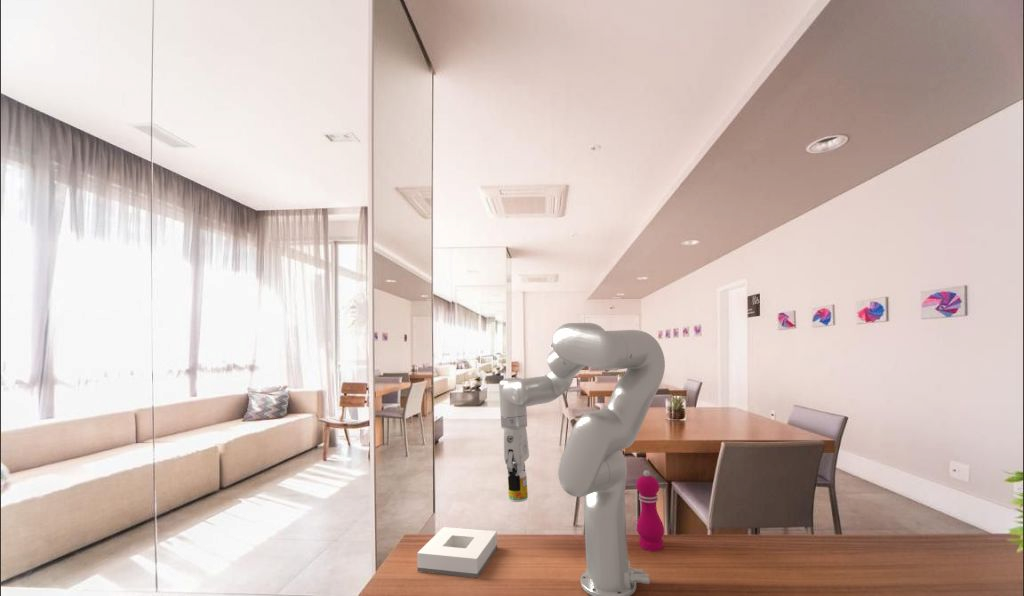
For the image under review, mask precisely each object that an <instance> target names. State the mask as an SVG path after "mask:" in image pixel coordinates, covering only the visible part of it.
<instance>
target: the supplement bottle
mask: <svg viewBox="0 0 1024 596" xmlns="http://www.w3.org/2000/svg"><path fill="white" fill-rule="evenodd" d="M513 464H516V462H513ZM513 468H515V470H516V467H513ZM523 469H524V465H523V464H522V465H519V474H518V475H520V491H510V490H509V481H508V480H507V487H508V489H507V490H508V491H507V492H508V500H509V501H510V502H512V503H522V502H525V501H527V500H528V496H529V495H528V477H527V472H526V470H525V471H523Z"/></svg>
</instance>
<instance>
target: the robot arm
mask: <svg viewBox="0 0 1024 596" xmlns="http://www.w3.org/2000/svg"><path fill="white" fill-rule="evenodd" d="M551 345H552V350H551V351H550V352H549V353H548V355H547V365H548V367H549V369H550V371H549V372H547V373H546V374H545V375H542V376H535V377H528V378H527V377H526V378H521V377H508V378H503V379H501V380H500V381H499V383H498V389H499V390H498V391H499V393H498V394H499V409H500V425H501V426H500V428H501V429H503V455H504V463H505V465H506V469H507V482H508V481H509V490H510V491H520V475H518V474H519V465H522V464H523V465H524V469H523V471H525V472H526V463H525V462H526V461H527V460H528V459H529V457H530V451H529V441H528V433H527V427H528V417H527V415H528V414H527V407H532V406H535V405H536V406H537V405H542V404H548V403H550V402H553V401H555V400H557V399H558V398H559V397H561V395H563V394H564V393H566V392H568V390H569V389H570V387H571V386H572V383H573V380H574V377H575V376H576V375H577V374H578V373H580V372H581V371H582V370H583V369H584V368H585V367H588V368H591V369H592V368H593V369H597V370H601V371H618V370H624V369H625V373H624V374H623V375H622V376H621V377H620V379H619V380H618V381H617V383H616V384H615V386H614V388H613V390H612V392H611V393H612V394H611V396H610V398H609V400H608V401H607V403H606V405H605V406H604V407H603V408H600V409H596V410H593V411H589V412H586V413H585V414H583V415H581V416H580V417H579V418H578V419H577V421H576V422H575V424H574V425H573V428H572V429H571V431H570V434H569V437H568V438H567V442H566V445H565V447H564V450H563V452H562V454H561V457H560V460H559V464H558V473H557V475H558V481H559V483H560V486H561V488H562V489H563V490H564V492H565V493H567V494H568V495H569V496H572V497H576V498H582V497H584V499H583V518H584V520H583V522H584V535H585V536H584V539H585V543H584V544H585V557H586V558H585V559H586V562H585V563H586V570H585V571H584V572H583V573H582V574H581V576H580V586H581V588H582V589H583V591H584V592H585V593H587V594H588V595H590V596H632V595H633V594H635V592H636V591H637V583H638V584H639V583H641V584H644V585H650V582H651V581H650V574H649V573H644V571H645V570H644V569H642V568H634V567H631V560H629V555H628V554H629V551H628V539H627V521H626V497H625V496H626V484H627V477H628V465H627V460H626V457H625V455H624V454H623V452H622V450H623V451H624V450H625V449H628V448H630V447H631V446H632V445H633V444H634V442H635V441H636V439H637V437H638V436H639V432H640V430H641V428H642V426H643V423H644V420H645V418H646V416H647V415H648V412H649V409H650V408H651V404H652V403H653V400H654V398H655V397H656V394H657V392H658V391H659V387H660V386H661V383H662V381H663V378H664V374H665V369H666V364H665V363H666V361H665V360H666V359H665V356H664V355H665V354H664V351H663V349H662V347H661V345H660V343H659V342H658V340H657V339H656V338H655V337H654V336H653V335H652V334H650V333H648V332H646V331H643V330H638V329H637V330H636V329H621V330H620V329H619V330H605V329H604V328H603V327H602V326H600V325H599V324H596V323H592V322H569V323H564V324H562V325H561V326H559V327H558V328H557V329H556V330H555V332H554V333H553V336H552V343H551ZM514 462H516V464H513V463H514ZM513 467H516V470H515V468H513Z"/></svg>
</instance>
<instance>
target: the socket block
mask: <svg viewBox="0 0 1024 596" xmlns="http://www.w3.org/2000/svg"><path fill="white" fill-rule="evenodd" d="M497 533H498V532H497V531H496V530H485V529H476V528H475V529H471V528H459V527H448V526H443V527H442V528H441V529H440V530H439V531H437V533H436V534H435V535H433V537H432V538H431V539H430V540H428V541H427V542H426V544H424V546H423V547H421V548H420V549H419V550H418V552H416V553H417V555H416V557H417V558H416V559H417V572H418V571H422V572H421V573H425V572H431V573H430V574H435V573H438V575H444V574H445V576H455V577H464V578H471V577H473V578H472V579H478V578H479V577H480V575H481V573H482V572H483V570H484V569H485V568H486V566H487V564H488V563H489V561H490V560H491V558H492V557H493V555H494V554H495V552H496V551H497V549H498V534H497ZM432 572H433V573H432ZM478 576H479V577H478Z"/></svg>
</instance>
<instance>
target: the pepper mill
mask: <svg viewBox="0 0 1024 596" xmlns="http://www.w3.org/2000/svg"><path fill="white" fill-rule="evenodd" d="M635 483H636V485H635V487H636V490H637V491H638V492H639V494H638V500H639V501H640V505H641V509H640V514H639V517H638V519H637V523H636V532H637V533H638V536H639V537H638V542H639V547H640V549H643V550H645V551H648V552H649V551H650V552H659V551H661V550H663V549H664V540H663V538H662V537H663V536H664V534H665V526H664V524H663V520H662V519H661V517H660V514H659V513H658V510H657V502H658V501H659V498H658V497H659V496H658V494H657V493H659V490H660V485H659V482H658V480H657V478H656V477H653V476H652V475H651V472H650V471H649V470H647V469H646V470H644V471H643V475H641V476H640V477H638V479H637V480H636V482H635Z"/></svg>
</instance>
